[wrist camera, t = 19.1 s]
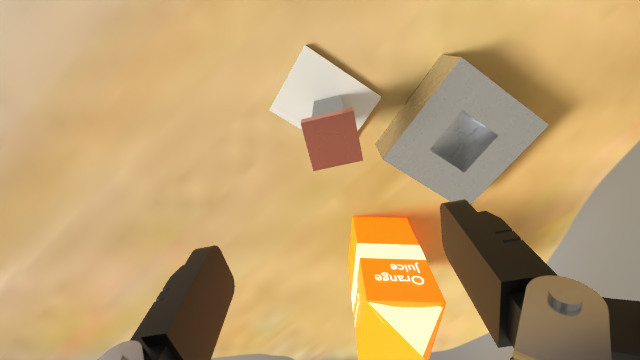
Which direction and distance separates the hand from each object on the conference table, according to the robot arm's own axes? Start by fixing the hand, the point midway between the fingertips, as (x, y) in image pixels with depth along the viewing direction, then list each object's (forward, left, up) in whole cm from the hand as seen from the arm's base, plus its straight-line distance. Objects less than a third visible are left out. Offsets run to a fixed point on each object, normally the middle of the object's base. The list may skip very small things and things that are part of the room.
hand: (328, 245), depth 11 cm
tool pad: (0, 0, -26) cm, 26 cm away
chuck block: (+14, +5, -26) cm, 30 cm away
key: (+1, 0, -25) cm, 25 cm away
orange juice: (+17, -13, -26) cm, 34 cm away
